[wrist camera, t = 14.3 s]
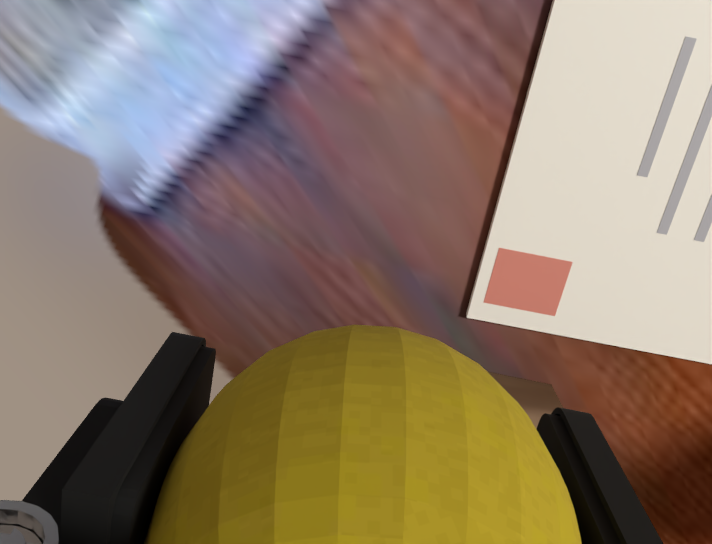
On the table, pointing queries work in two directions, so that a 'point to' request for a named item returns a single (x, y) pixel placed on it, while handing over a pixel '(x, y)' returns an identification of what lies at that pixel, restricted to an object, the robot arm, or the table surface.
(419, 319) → the table surface
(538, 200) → the letter
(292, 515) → the lemon
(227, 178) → the table surface
